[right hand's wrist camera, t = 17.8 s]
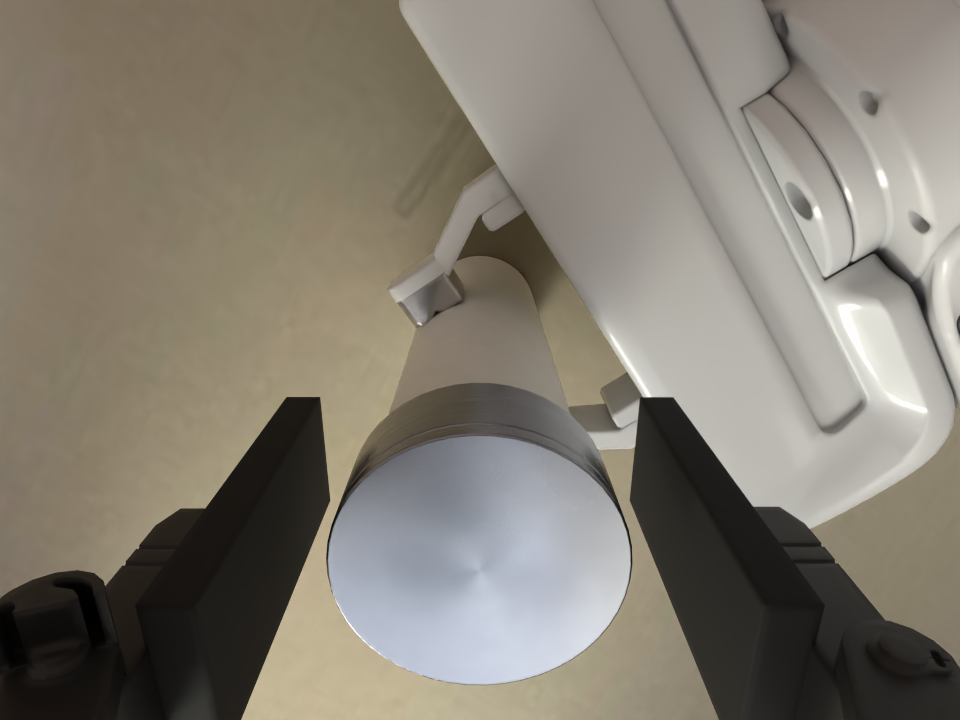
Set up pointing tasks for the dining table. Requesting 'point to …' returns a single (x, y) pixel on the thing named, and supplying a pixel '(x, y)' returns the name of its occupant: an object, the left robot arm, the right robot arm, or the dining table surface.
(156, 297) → the dining table surface
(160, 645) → the right robot arm
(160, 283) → the dining table surface
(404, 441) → the lid
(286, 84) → the dining table surface
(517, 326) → the bottle
